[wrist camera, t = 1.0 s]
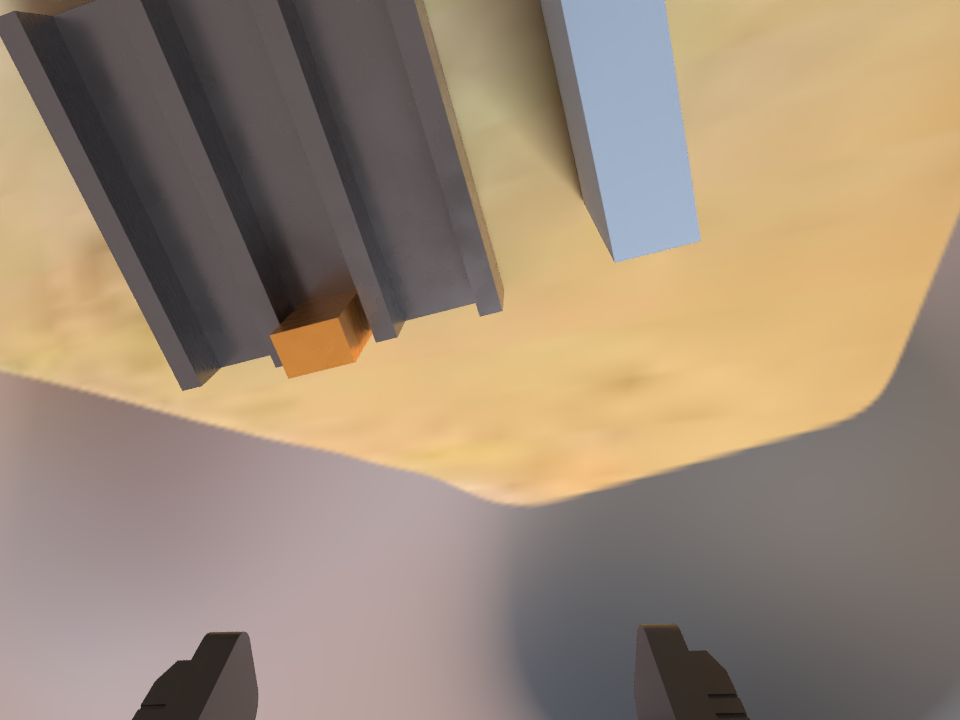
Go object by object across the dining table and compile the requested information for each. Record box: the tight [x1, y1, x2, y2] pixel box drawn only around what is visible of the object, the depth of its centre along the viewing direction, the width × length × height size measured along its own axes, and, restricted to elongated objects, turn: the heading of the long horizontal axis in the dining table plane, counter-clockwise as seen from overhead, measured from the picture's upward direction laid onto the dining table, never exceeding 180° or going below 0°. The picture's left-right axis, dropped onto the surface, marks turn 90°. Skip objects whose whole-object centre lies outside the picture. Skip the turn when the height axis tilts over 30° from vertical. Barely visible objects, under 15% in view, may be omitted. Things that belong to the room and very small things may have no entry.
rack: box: [0, 0, 504, 391], centre depth 31 cm, size 19×18×6 cm
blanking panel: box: [540, 0, 701, 263], centre depth 26 cm, size 12×3×12 cm, turn 16°
